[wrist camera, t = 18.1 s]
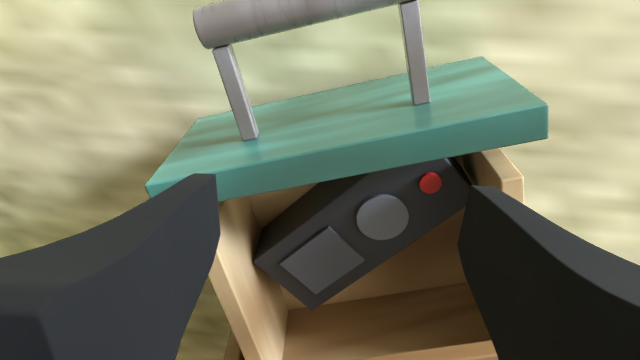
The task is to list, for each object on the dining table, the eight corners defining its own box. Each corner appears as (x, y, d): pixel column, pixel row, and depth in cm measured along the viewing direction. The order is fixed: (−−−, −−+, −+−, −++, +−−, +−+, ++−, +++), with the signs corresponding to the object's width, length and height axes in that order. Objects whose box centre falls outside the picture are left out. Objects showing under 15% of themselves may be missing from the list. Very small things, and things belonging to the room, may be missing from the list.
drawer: (157, 12, 19) (75, 42, 13) (474, -69, 17) (550, -79, 11) (269, 309, 27) (250, 414, 21) (496, 274, 25) (547, 377, 19)
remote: (261, 228, 23) (251, 265, 20) (410, 107, 19) (423, 132, 17) (314, 274, 24) (311, 314, 21) (462, 167, 21) (481, 200, 18)
